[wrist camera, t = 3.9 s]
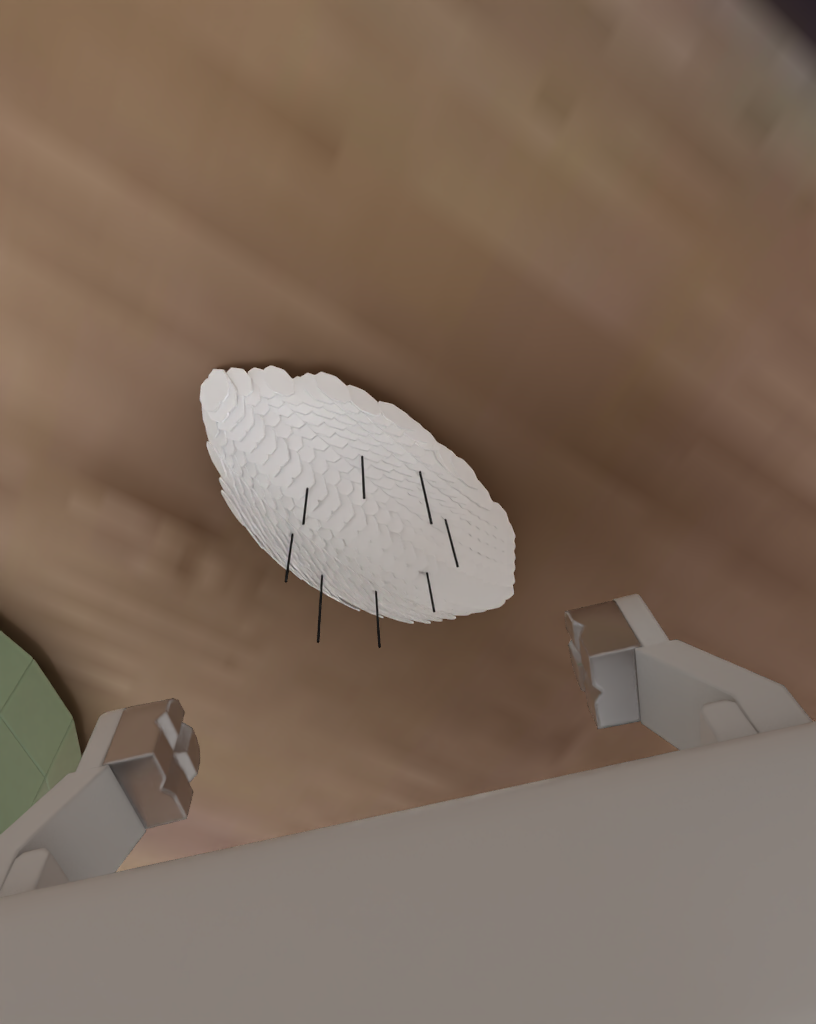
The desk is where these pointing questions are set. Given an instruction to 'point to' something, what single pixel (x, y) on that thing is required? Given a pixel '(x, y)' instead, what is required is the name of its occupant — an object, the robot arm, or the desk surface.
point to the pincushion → (356, 496)
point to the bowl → (30, 734)
